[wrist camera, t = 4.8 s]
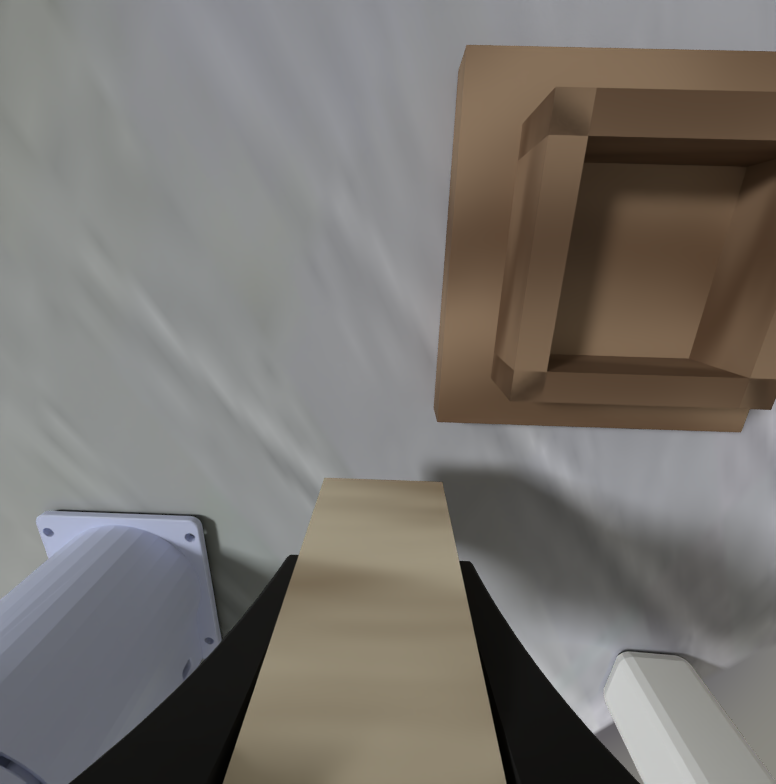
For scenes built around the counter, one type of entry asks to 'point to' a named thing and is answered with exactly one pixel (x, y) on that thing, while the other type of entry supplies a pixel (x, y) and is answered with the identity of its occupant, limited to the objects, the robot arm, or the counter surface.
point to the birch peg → (372, 652)
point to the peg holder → (610, 239)
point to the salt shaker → (677, 724)
